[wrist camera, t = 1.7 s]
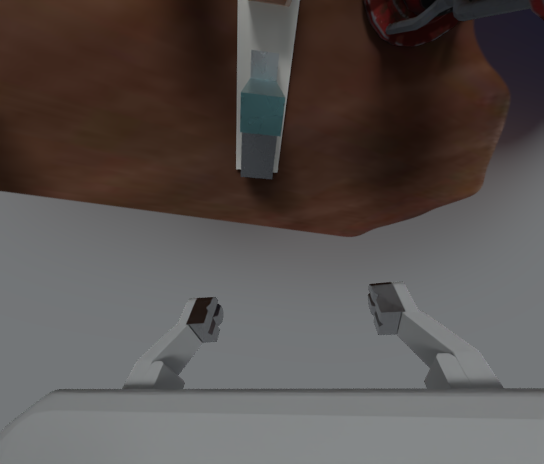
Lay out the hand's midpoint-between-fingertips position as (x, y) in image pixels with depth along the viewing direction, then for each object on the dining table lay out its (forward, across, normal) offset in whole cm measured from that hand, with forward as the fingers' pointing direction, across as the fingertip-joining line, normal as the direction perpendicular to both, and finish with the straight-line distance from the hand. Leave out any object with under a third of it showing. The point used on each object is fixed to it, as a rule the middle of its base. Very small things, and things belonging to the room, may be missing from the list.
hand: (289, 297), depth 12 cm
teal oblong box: (+33, +4, -4) cm, 33 cm away
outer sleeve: (+34, +5, -1) cm, 34 cm away
